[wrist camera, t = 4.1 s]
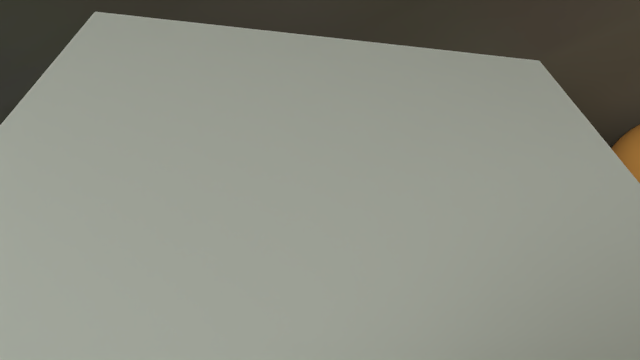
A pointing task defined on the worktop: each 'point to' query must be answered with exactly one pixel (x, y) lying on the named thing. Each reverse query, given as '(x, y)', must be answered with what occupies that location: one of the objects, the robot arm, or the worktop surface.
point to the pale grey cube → (308, 204)
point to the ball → (630, 151)
